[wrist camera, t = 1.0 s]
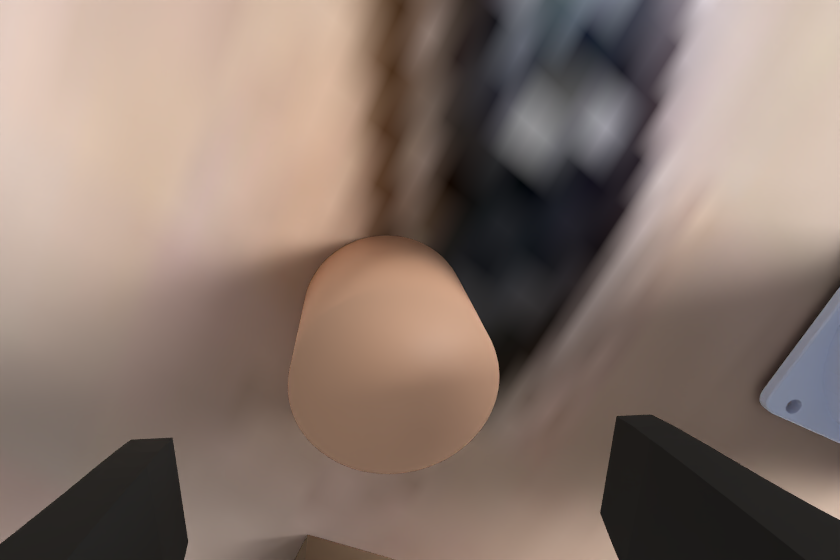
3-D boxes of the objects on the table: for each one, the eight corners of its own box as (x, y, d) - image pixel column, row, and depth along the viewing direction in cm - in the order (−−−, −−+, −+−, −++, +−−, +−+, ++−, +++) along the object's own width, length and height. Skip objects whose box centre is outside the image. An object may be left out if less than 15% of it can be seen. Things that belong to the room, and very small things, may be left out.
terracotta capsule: (492, 274, 15) (536, 337, 12) (421, 403, 17) (441, 497, 13) (344, 207, 14) (340, 252, 11) (278, 350, 16) (255, 436, 12)
